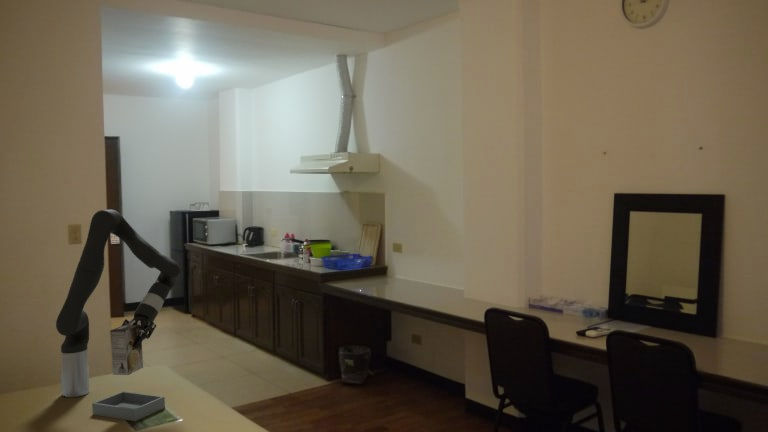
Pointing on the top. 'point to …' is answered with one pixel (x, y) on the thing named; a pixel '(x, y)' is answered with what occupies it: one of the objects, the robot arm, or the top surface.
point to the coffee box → (125, 350)
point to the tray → (128, 405)
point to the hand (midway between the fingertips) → (126, 346)
